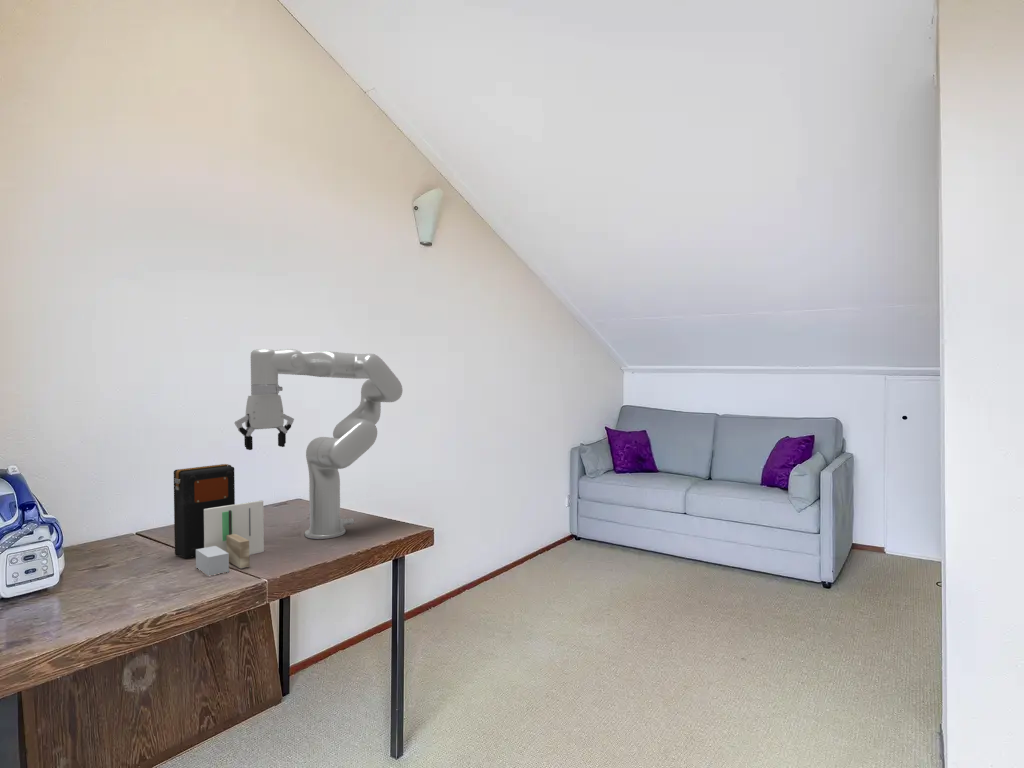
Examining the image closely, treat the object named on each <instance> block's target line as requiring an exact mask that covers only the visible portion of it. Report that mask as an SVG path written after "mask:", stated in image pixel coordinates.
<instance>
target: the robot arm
mask: <svg viewBox="0 0 1024 768" xmlns="http://www.w3.org/2000/svg"><path fill="white" fill-rule="evenodd" d="M279 375H293V376H294V375H295V376H309V377H317V378H331V379H332V378H336V379H353V380H355V379H356V380H361V379H365V381H364V383H362V385H361V390H360V401H359V405H358V406H357V407H356V408H355V409H354V410H353V411H352V412H351V413H349V414H348V415H347V416H346V417H344V418H343V419H342V420H341V421H339V422H338V423H337V424H336V425H335V427H334V428H333V432H332V437H330V436H319V437H316V438H313V439H312V440H311V441H310V442H309V443H308V445H307V447H306V450H305V458H306V464H307V470H308V478H309V479H308V480H309V483H308V486H309V488H308V489H309V490H308V491H309V493H308V496H309V501H308V503H309V504H308V505H309V528H308V529H307V530H305V532H304V536H305V537H306V538H308V539H313V540H322V539H323V540H324V539H325V540H326V539H332V538H338V537H341V536H343V535H345V533H346V528H345V527H346V526H350V525H353V524H354V523H355V520H354V518H353V517H352V518H342V517H341V479H340V472H339V470H342V469H346V468H349V467H350V466H351V465H352V464H354V463H355V462H356V461H357V460H358V459H359V458H361V457H362V456H363V455H364V454H365V453H366V452H367V451H369V450H370V448H372V446H373V445H374V444H375V442H376V440H377V436H378V428H377V425H376V424H377V423H378V422H379V421H380V418H381V412H382V411H381V409H382V408H381V407H382V406H381V403H395V402H397V401H398V400H400V399H401V397H402V394H403V385H402V383H401V381H400V379H399V378H398V377H397V376H396V374H395V373H394V372H393V371H392V369H391V368H390V367H389V366H388V364H386V363H385V361H384V360H383V358H381V357H380V356H378V354H375V353H352V352H339V351H330V350H329V351H326V350H325V351H320V350H319V351H306V352H305V351H300V350H298V349H293V348H290V349H289V348H287V349H267V348H266V349H264V348H263V349H262V348H259V349H254V350H251V352H250V395H248V396H247V399H246V406H245V415H244V416H242V417H240V418H239V419H237V420H235V422H234V425H235V427H236V429H237V430H238V432H239V433H241V434H242V436H244V439H243V440H244V448H245V449H246V450H248V451H252V450H253V444H254V443H253V436H252V434H253V432H254V431H255V430H266V429H277V431H279V432H278V433H277V446H278V447H281V448H284V447H286V443H287V435H286V434H287V433H288V431H289V430H290V429H291V428H292V425H293V424H294V421H295V418H293V417H292V416H289V415H287V414H285V413H284V407H283V400H282V397H281V395H280V392H283V386H280V385H279ZM366 379H367V380H366ZM285 420H286V424H285V425H284V423H285ZM243 424H244V426H245V428H244V427H243Z"/></svg>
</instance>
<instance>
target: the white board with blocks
mask: <svg viewBox="0 0 1024 768" xmlns="http://www.w3.org/2000/svg"><path fill="white" fill-rule="evenodd" d="M229 510H231V511H232V534H237V535H239V536H241V537H243V538H245V539H247V540H249V556H251V555H255V554H259V553H264V552H265V537H264V536H265V535H264V532H265V530H264V528H265V526H264V525H265V523H264V500H256V501H250V502H249V501H248V502H244V503H243V502H242V503H235V505H228V506H221V507H214V508H208V509H204V548H201V549H196V556H195V568H196V569H197V568H198V569H199V571H200V570H201V571H203V572H204V573H205V574H207V575H208V576H209V575H214V574H218V573H223V572H227V573H229V572H230V562H229V553H227V544H226V535H229ZM198 569H197V570H198ZM201 571H200V572H201ZM203 572H202V573H203ZM204 573H203V574H204ZM205 574H204V575H205ZM223 574H224V573H223ZM207 575H206V576H207ZM208 576H207V577H208ZM214 576H215V575H214Z"/></svg>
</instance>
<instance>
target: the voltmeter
mask: <svg viewBox="0 0 1024 768" xmlns="http://www.w3.org/2000/svg"><path fill="white" fill-rule="evenodd" d="M235 481H236V480H235V467H234V466H232V465H231V464H229V463H228V464H227V463H221V464H212V465H204V466H197V467H186V468H179V469H178V468H177V469H174V470H173V516H174V517H173V518H174V520H173V523H174V525H173V526H174V531H173V532H174V555H175V556H177V555H179V556H180V557H182V558H184V559H189V558H194V557H195V558H196V549H201V548H204V509H208V508H214V507H221V506H228V505H235V504H236V495H235V494H236V491H235V490H236V489H235Z"/></svg>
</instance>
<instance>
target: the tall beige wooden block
mask: <svg viewBox="0 0 1024 768" xmlns="http://www.w3.org/2000/svg"><path fill="white" fill-rule="evenodd" d="M226 544H227V553H229V564H232V565H234V567H237V568H239V569H245V568H249V567H250V555H249V540H247V539H245V538H243V537H241V536H239V535H237V534H232V511H231V510H229V535H226Z"/></svg>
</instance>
